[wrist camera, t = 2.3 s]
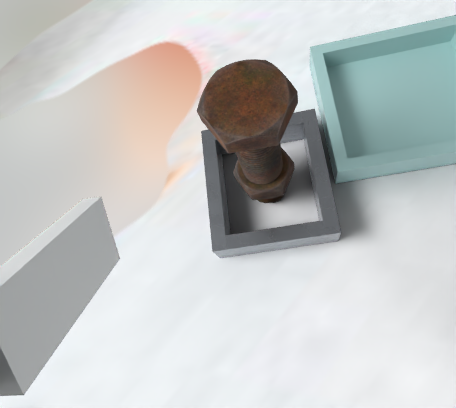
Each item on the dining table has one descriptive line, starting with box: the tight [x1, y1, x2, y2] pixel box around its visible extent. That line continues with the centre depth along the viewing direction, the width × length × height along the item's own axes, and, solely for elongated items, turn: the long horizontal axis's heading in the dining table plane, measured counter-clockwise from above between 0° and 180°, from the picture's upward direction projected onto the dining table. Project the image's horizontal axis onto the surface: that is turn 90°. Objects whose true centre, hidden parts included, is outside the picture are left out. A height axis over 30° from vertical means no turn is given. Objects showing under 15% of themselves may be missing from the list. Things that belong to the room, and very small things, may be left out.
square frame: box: [201, 109, 341, 258], centre depth 34 cm, size 10×11×3 cm
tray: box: [310, 15, 456, 184], centre depth 34 cm, size 14×13×3 cm
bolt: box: [197, 59, 298, 203], centre depth 28 cm, size 6×5×15 cm
